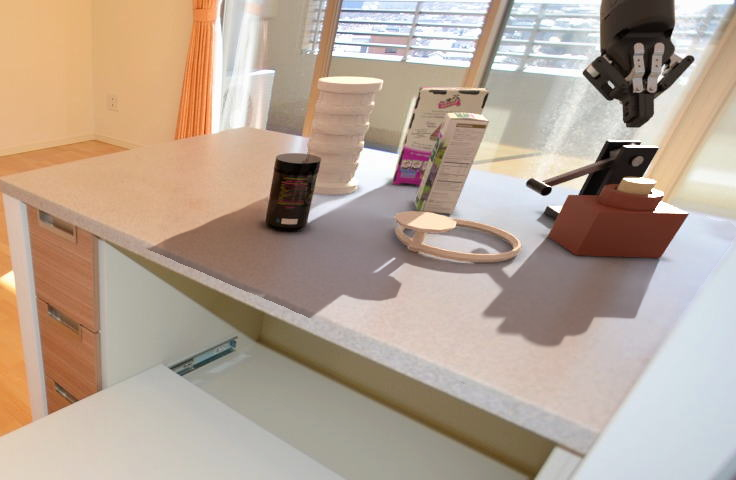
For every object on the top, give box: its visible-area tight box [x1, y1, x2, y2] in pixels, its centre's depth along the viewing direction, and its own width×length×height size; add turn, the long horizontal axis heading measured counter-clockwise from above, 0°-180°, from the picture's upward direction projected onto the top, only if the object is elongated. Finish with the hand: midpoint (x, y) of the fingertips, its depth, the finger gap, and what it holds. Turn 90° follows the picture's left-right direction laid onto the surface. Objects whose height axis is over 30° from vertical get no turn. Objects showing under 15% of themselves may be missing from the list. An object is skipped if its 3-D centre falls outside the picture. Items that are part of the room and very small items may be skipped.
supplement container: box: [264, 152, 321, 233], centre depth 86 cm, size 7×7×10 cm
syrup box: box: [414, 113, 490, 215], centre depth 91 cm, size 6×6×14 cm
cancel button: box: [617, 177, 657, 195], centre depth 75 cm, size 4×4×2 cm
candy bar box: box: [392, 86, 490, 188], centre depth 102 cm, size 11×5×16 cm, turn 67°
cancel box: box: [547, 184, 690, 259], centre depth 77 cm, size 11×8×8 cm
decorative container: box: [306, 75, 384, 196], centre depth 102 cm, size 12×12×18 cm
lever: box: [525, 143, 639, 197], centre depth 84 cm, size 13×5×2 cm, turn 81°
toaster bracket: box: [543, 139, 660, 221], centre depth 84 cm, size 9×10×12 cm
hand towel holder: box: [394, 210, 522, 263], centre depth 80 cm, size 17×4×21 cm
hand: (638, 123), depth 75 cm, fingers closed
